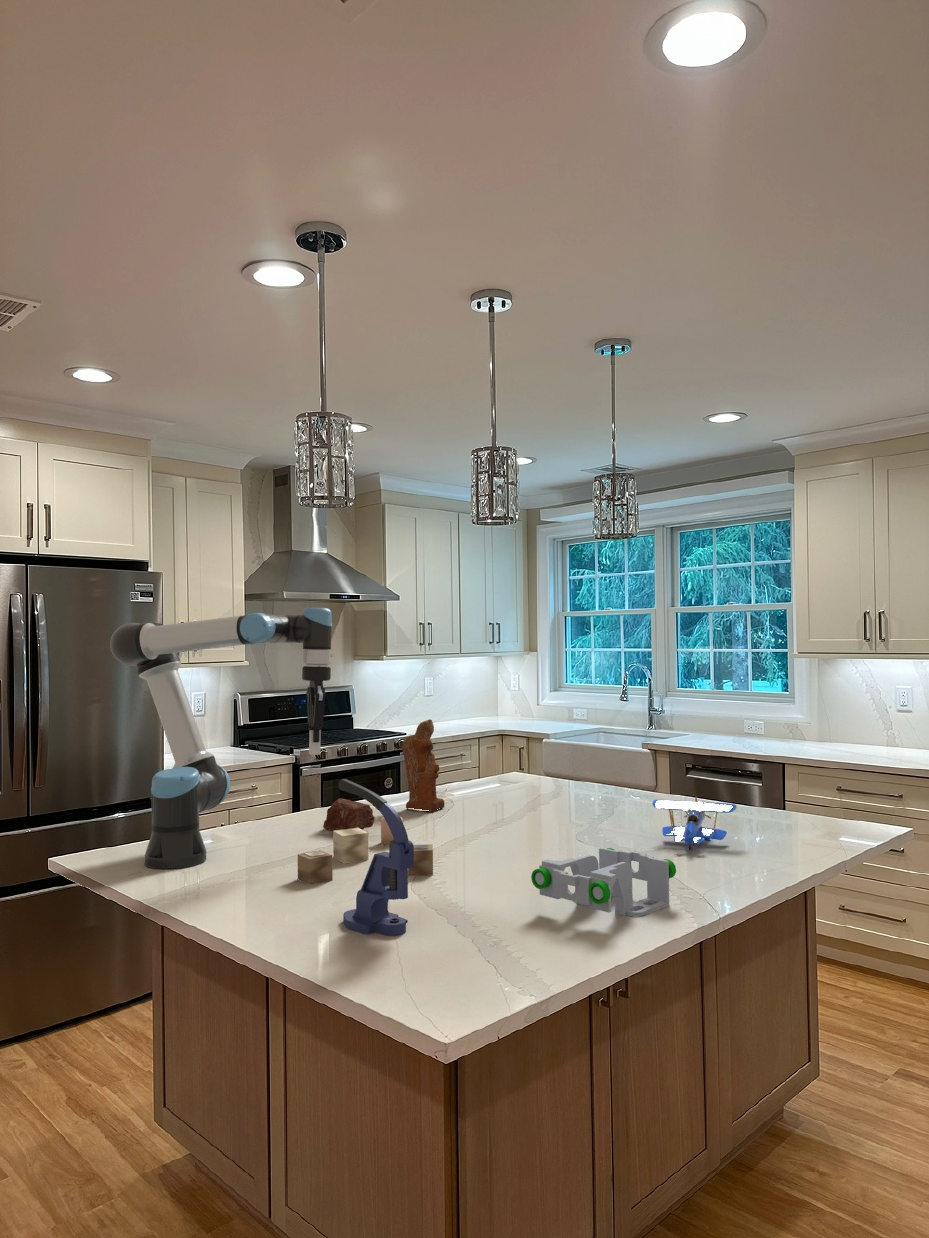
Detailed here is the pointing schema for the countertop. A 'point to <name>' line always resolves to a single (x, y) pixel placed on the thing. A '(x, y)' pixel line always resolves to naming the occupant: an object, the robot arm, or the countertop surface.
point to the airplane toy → (693, 820)
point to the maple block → (350, 845)
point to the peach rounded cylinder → (386, 832)
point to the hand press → (381, 874)
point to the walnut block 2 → (422, 860)
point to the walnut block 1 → (315, 867)
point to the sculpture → (421, 769)
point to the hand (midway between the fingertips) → (314, 754)
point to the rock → (348, 815)
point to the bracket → (607, 881)
